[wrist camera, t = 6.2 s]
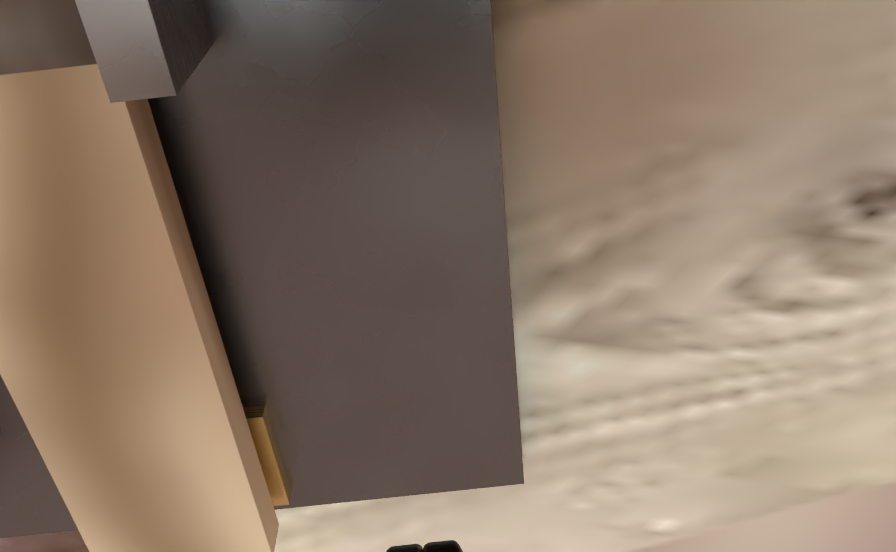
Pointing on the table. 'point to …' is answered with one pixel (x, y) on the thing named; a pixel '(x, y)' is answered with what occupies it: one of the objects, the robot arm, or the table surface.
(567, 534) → the table surface
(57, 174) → the lever
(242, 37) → the mounting plate
